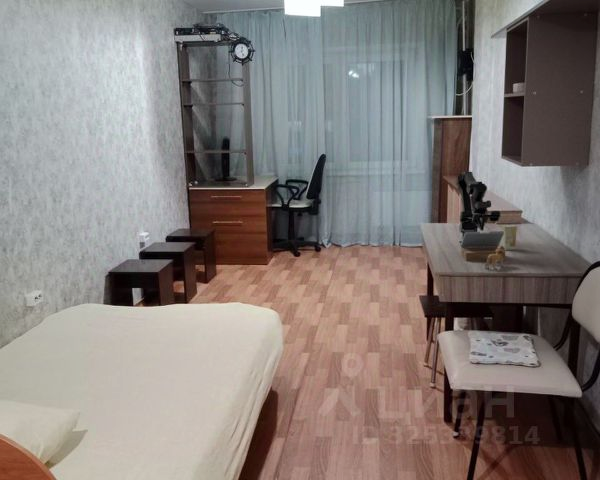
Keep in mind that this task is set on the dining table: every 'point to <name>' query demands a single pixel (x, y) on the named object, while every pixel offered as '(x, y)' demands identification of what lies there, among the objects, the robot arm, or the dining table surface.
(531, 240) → the dining table surface
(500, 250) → the lion figurine
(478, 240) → the lid
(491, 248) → the walnut box
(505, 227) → the skincare box
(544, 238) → the dining table surface
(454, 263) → the dining table surface
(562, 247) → the dining table surface
